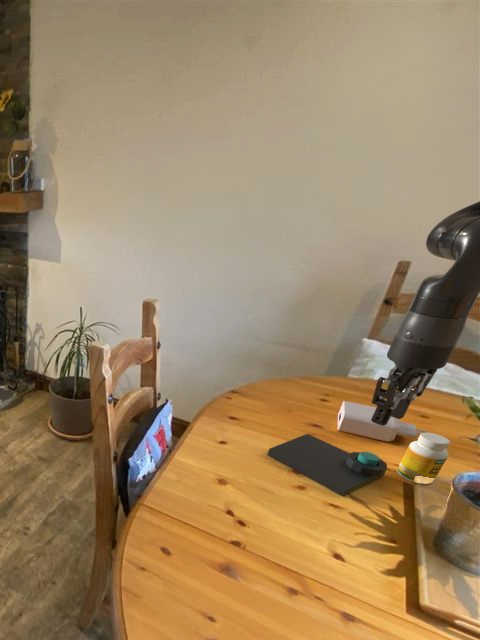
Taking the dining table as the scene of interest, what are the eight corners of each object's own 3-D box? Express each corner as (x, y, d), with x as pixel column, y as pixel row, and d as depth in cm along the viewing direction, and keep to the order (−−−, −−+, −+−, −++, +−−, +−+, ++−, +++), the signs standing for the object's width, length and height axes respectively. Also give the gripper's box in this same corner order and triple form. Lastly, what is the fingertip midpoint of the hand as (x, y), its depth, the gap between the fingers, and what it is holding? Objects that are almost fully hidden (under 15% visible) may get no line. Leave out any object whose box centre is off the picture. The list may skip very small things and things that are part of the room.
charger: (425, 453, 91) (337, 432, 99) (420, 433, 97) (337, 415, 106) (435, 435, 89) (344, 415, 97) (429, 416, 95) (343, 399, 104)
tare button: (379, 464, 84) (383, 457, 83) (371, 468, 83) (373, 462, 82) (362, 456, 86) (365, 449, 86) (353, 460, 85) (356, 453, 85)
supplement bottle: (402, 465, 88) (422, 427, 83) (437, 479, 83) (460, 440, 79) (390, 474, 85) (410, 435, 81) (425, 489, 81) (448, 449, 77)
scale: (386, 478, 84) (393, 464, 83) (345, 498, 80) (351, 484, 79) (306, 439, 97) (311, 427, 96) (266, 455, 93) (271, 442, 91)
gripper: (430, 352, 67) (388, 439, 75) (477, 336, 71) (432, 420, 79) (375, 338, 73) (341, 420, 81) (421, 324, 78) (384, 402, 85)
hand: (386, 419), depth 80 cm, fingers open, 4 cm apart
